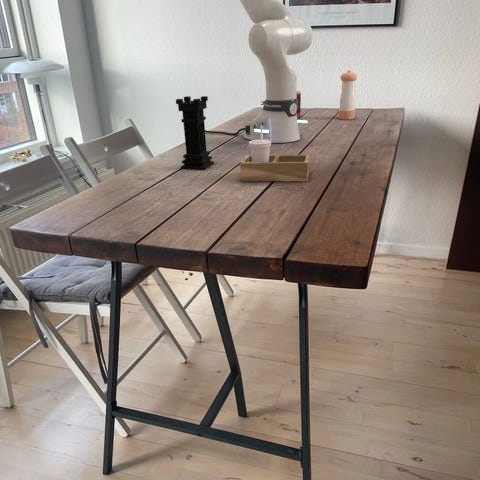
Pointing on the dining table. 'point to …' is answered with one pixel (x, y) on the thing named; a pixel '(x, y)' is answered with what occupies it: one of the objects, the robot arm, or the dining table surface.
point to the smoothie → (260, 149)
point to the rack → (276, 168)
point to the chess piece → (194, 133)
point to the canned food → (298, 103)
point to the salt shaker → (347, 96)
